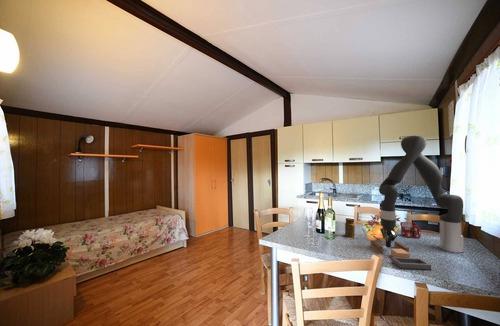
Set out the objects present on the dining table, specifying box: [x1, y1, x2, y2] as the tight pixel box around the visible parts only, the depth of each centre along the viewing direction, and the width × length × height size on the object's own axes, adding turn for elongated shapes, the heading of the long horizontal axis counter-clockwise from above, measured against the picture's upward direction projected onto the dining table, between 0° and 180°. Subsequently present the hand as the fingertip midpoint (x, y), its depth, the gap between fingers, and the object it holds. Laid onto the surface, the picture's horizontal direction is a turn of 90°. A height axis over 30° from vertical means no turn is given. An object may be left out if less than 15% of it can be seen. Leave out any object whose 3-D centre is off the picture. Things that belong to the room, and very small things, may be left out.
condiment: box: [341, 218, 357, 240], centre depth 145 cm, size 7×8×12 cm
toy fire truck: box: [399, 221, 422, 240], centre depth 145 cm, size 7×12×10 cm, turn 77°
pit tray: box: [391, 256, 432, 271], centre depth 102 cm, size 14×7×2 cm, turn 85°
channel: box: [369, 239, 410, 255], centre depth 121 cm, size 16×10×4 cm, turn 85°
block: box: [390, 248, 411, 258], centre depth 111 cm, size 6×6×4 cm
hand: (388, 246), depth 121 cm, fingers closed
